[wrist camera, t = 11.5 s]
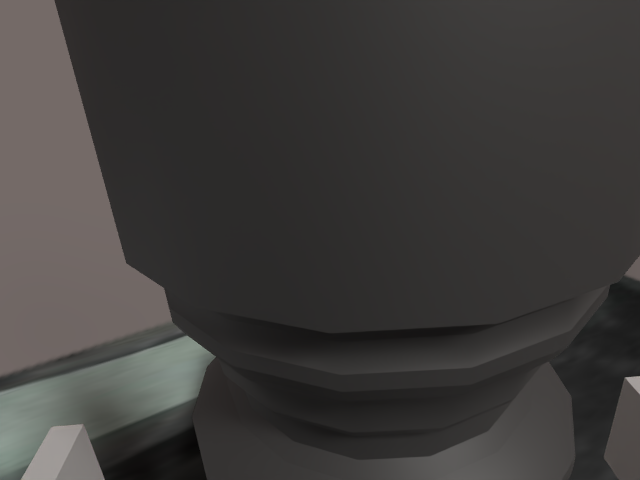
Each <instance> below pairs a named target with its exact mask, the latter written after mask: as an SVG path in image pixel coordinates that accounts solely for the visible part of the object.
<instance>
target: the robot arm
mask: <svg viewBox="0 0 640 480" xmlns="http://www.w3.org/2000/svg"><path fill="white" fill-rule="evenodd" d="M604 459H605V460H606V461H607V463H608V464H609V466H610V467H611V469H612V470H613V472H614V473H615V475H616V476H617V478H618V479H619V480H640V376H638V377H627V378H625V379H624V383H623V387H622V390H621V394H620V398H619V402H618V405H617V409H616V413H615V417H614V421H613V424H612V428H611V432H610V436H609V439H608V443H607V447H606V451H605V455H604ZM21 480H105V479H104V476H103V474H102V471H101V468H100V466H99V463H98V461H97V458H96V455H95V453H94V450H93V447H92V445H91V442H90V439H89V437H88V434H87V432H86V429H85V426H84V424H78V425H66V426H54V427H51V429H50V430H49V432H48V434H47V435H46V437H45V439H44V441H43V442H42V444H41V446H40V448H39V449H38V451H37V453H36V455H35V456H34V458H33V460H32V461H31V463H30V465H29V467H28V468H27V470H26V472H25V474H24V475H23V477H22V479H21Z"/></svg>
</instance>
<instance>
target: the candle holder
mask: <svg viewBox="0 0 640 480" xmlns="http://www.w3.org/2000/svg"><path fill="white" fill-rule="evenodd" d="M55 3H56V7H57V11H58V15H59V18H60V22H61V25H62V29H63V33H64V36H65V40H66V44H67V47H68V51H69V55H70V59H71V62H72V66H73V69H74V73H75V77H76V81H77V84H78V87H79V92H80V95H81V99H82V103H83V106H84V110H85V113H86V117H87V121H88V124H89V128H90V132H91V136H92V139H93V143H94V146H95V150H96V154H97V157H98V161H99V165H100V168H101V172H102V176H103V179H104V183H105V187H106V190H107V194H108V198H109V201H110V205H111V209H112V212H113V216H114V219H115V223H116V227H117V231H118V234H119V238H120V241H121V245H122V249H123V252H124V256H125V260H126V263H127V264H129V265H130V266H131V267H133V268H135V269H136V270H138V271H139V272H141V273H142V274H144V275H145V276H147V277H148V278H150V279H151V280H153V281H154V282H156V283H157V284H159V285H160V286H162V287H163V288H164V289H165V293H166V297H167V301H168V305H169V309H170V313H171V317H172V321H173V323H174V324H175V325H176V326H177V327H178V328H180V329H181V330H182V331H183V332H184V333H185V334H186V335H188V336H189V337H190V338H192V339H193V340H194V341H196V342H197V343H198V344H200V345H201V346H202V347H204V348H205V349H207V350H208V351H209V352H211V353H212V354H213V355H215V356H216V358H215V359H214V360H213V361H212V362H211V363H210V364H209V366H208V367H207V369H206V372H205V376H204V379H203V382H202V386H201V389H200V392H199V395H198V399H197V402H196V405H195V409H194V412H193V415H192V420H193V424H194V428H195V432H196V436H197V440H198V444H199V449H200V453H201V457H202V461H203V465H204V469H205V473H206V478H207V480H568V479H569V477H570V475H571V473H572V469H573V465H574V461H575V445H574V430H573V415H572V401H571V396H570V394H569V393H568V391H567V390H566V388H565V386H564V385H563V383H562V382H561V380H560V379H559V377H558V376H557V374H556V373H555V371H554V369H553V368H552V366H551V365H550V363H549V361H551V360H553V359H554V358H556V357H557V356H558V355H559V354H560V353H561V352H562V351H563V350H565V349H566V348H567V347H568V346H569V344H570V343H571V342H572V341H573V339H574V338H575V337H576V336H577V334H578V333H579V332H580V331H581V329H582V328H583V327H584V325H585V324H586V323H587V322H588V320H589V319H590V318H591V317H592V315H593V314H594V313H595V312H596V310H597V309H598V308H599V307H600V305H601V304H602V303H603V302H604V300H605V299H606V298H607V296H608V291H609V287H610V285H611V284H613V283H616V282H619V281H620V279H621V278H622V277H623V276H624V274H625V273H626V271H628V269H629V268H630V267H631V265H632V264H633V263H634V262H635V260H636V259H637V258H638V257H639V255H640V0H55Z"/></svg>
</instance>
